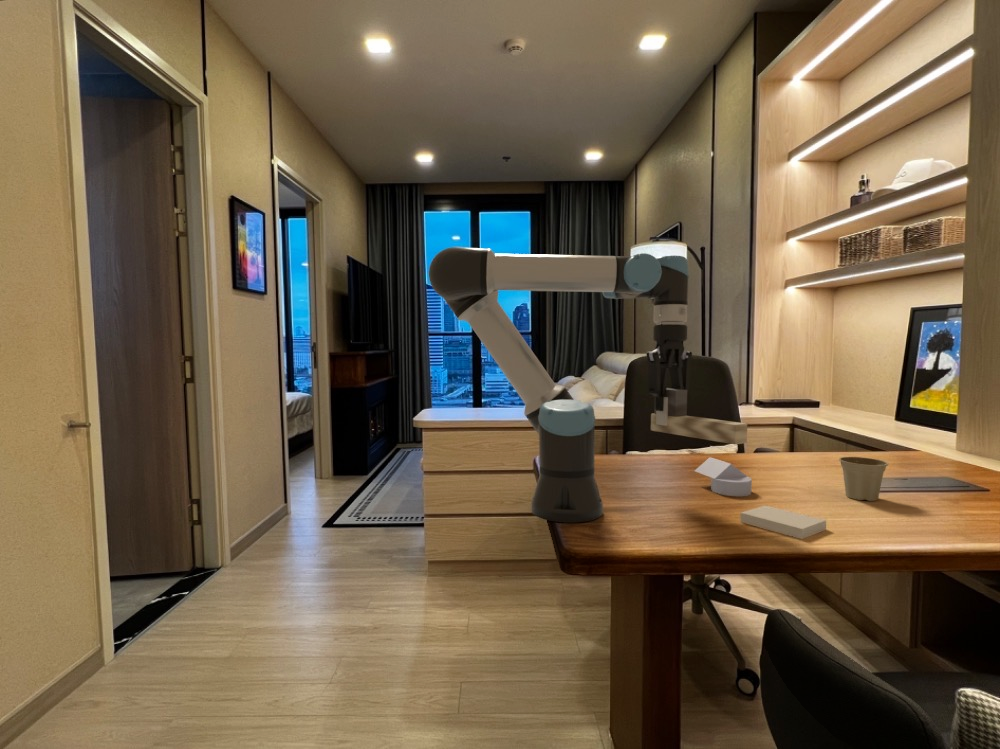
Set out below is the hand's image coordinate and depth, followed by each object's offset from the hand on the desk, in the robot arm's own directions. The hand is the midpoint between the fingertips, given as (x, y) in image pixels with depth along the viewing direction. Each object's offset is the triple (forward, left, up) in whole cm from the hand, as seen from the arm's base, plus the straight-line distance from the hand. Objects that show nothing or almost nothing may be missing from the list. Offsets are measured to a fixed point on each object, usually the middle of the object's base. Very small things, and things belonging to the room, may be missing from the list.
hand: (668, 423), depth 126 cm
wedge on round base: (+16, -5, -17) cm, 24 cm away
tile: (0, -21, -16) cm, 26 cm away
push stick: (0, -7, -2) cm, 8 cm away
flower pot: (+34, -28, -17) cm, 47 cm away
